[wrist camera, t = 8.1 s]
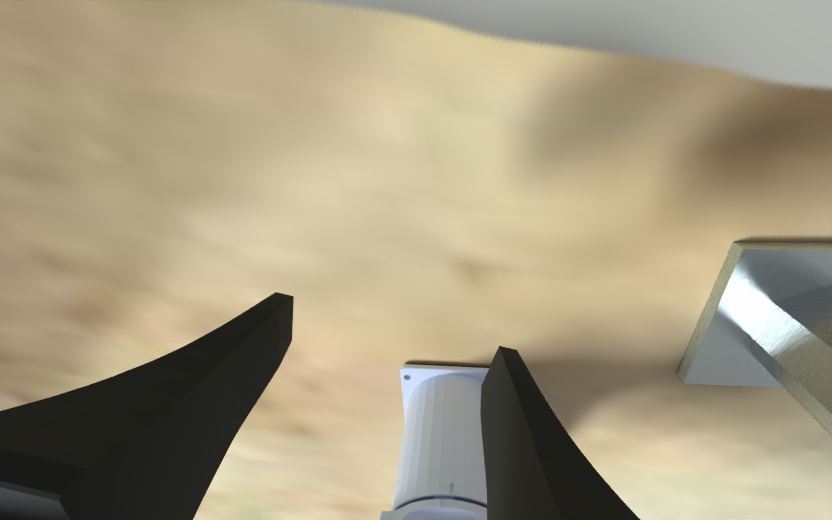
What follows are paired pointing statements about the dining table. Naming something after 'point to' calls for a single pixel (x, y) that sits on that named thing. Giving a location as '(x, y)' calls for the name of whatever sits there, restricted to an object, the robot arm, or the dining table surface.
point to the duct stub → (749, 308)
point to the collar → (799, 349)
